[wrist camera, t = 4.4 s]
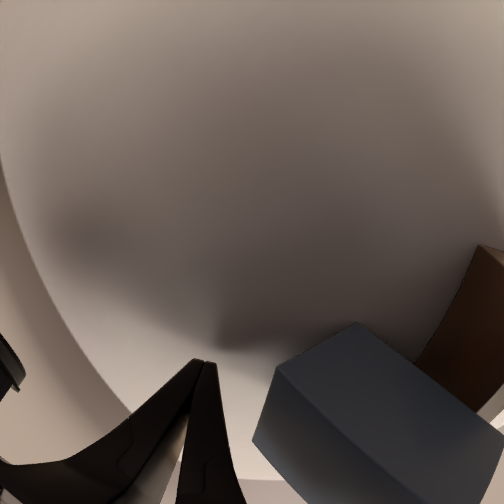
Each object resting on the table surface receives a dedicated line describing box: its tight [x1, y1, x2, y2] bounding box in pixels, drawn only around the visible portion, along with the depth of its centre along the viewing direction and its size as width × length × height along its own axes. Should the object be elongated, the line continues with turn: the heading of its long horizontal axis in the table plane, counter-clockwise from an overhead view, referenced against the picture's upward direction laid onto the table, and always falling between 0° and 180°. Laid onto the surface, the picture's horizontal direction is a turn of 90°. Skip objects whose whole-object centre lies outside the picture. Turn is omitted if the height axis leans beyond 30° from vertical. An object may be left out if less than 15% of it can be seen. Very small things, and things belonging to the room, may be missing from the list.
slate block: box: [252, 322, 504, 504], centre depth 6 cm, size 7×5×8 cm
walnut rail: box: [415, 245, 504, 423], centre depth 8 cm, size 2×12×4 cm, turn 173°
